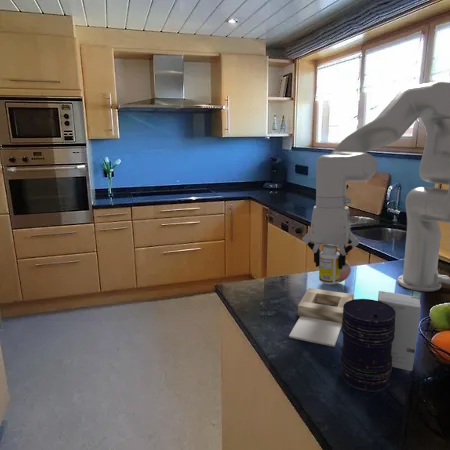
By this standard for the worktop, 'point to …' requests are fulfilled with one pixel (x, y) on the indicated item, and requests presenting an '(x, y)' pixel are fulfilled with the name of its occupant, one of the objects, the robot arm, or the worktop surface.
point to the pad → (316, 331)
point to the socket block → (320, 311)
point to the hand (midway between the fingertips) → (329, 265)
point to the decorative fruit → (345, 272)
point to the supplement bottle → (329, 264)
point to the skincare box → (403, 327)
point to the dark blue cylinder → (367, 344)
